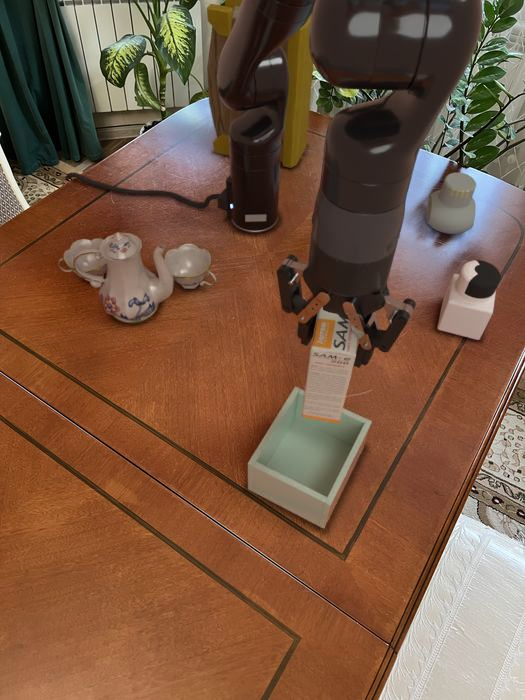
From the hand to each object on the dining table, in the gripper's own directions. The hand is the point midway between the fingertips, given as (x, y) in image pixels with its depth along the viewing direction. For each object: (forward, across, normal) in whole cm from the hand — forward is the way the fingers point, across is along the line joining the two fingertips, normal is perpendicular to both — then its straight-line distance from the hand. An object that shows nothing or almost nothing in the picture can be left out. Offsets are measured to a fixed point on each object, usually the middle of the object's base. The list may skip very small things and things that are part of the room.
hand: (333, 350), depth 63 cm
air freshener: (+25, -1, -60) cm, 65 cm away
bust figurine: (+25, -11, -36) cm, 45 cm away
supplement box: (+9, 0, 0) cm, 9 cm away
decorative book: (+25, +44, -64) cm, 81 cm away
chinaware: (+25, +41, -14) cm, 50 cm away
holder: (+25, 0, +2) cm, 25 cm away
